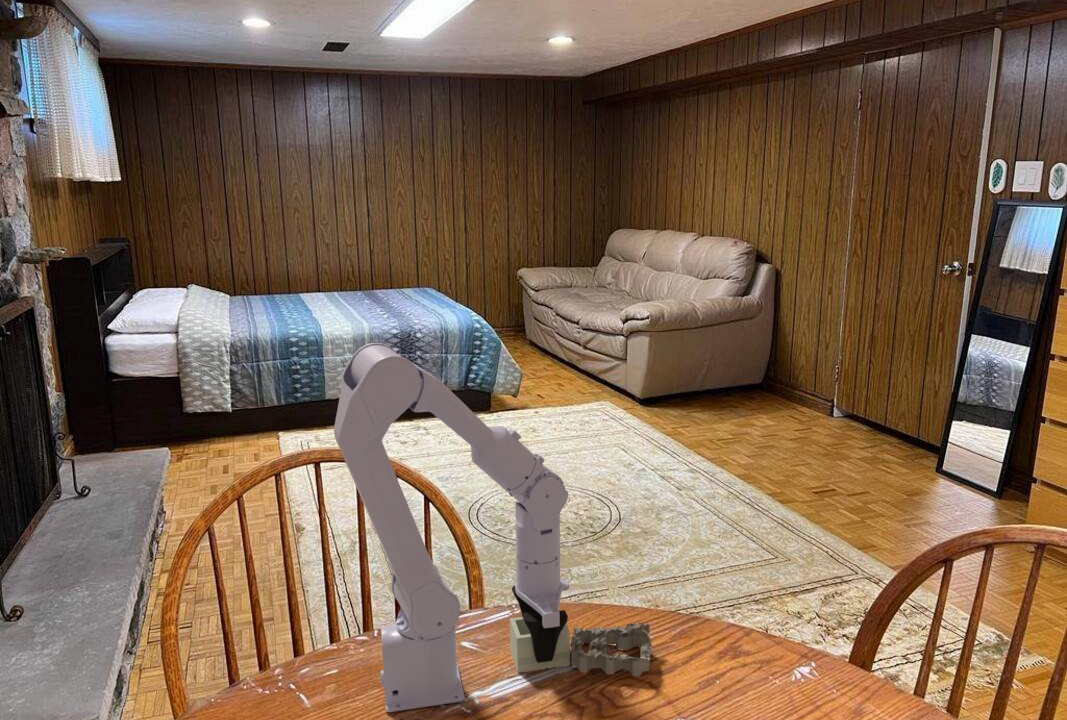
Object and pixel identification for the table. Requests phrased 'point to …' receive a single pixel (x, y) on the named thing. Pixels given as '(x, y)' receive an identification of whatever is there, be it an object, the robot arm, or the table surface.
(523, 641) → the box
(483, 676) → the table surface
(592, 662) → the egg carton
